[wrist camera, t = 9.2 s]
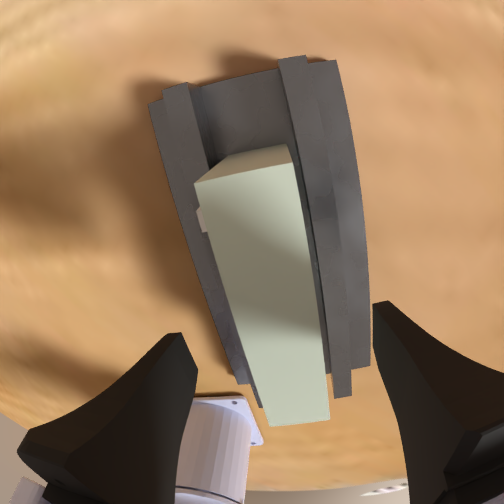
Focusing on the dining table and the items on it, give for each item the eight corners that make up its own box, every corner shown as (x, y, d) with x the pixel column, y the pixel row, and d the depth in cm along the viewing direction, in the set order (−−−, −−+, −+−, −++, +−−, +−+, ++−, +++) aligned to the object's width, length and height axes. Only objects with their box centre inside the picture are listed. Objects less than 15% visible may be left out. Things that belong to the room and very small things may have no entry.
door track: (367, 358, 21) (377, 390, 18) (239, 377, 23) (234, 409, 20) (333, 62, 14) (346, 50, 11) (153, 104, 15) (126, 103, 12)
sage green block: (318, 333, 20) (329, 419, 13) (266, 340, 20) (259, 427, 14) (286, 143, 15) (292, 162, 9) (219, 157, 16) (178, 187, 9)
